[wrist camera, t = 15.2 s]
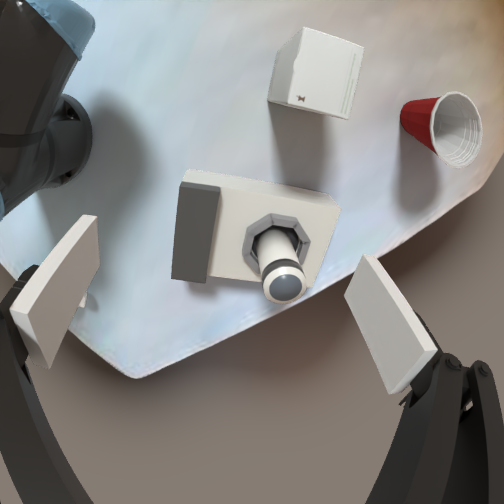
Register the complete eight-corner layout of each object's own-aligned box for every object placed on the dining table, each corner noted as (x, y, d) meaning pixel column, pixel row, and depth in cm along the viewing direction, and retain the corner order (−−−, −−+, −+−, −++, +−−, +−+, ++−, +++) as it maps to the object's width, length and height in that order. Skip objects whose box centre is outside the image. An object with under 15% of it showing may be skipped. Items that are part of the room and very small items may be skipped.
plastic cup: (444, 102, 37) (492, 115, 27) (426, 156, 43) (470, 179, 32) (397, 73, 35) (445, 76, 25) (378, 132, 40) (421, 151, 30)
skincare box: (308, 111, 38) (350, 125, 25) (263, 100, 37) (283, 107, 24) (320, 58, 34) (369, 48, 21) (275, 46, 33) (303, 25, 20)
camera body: (178, 250, 48) (171, 278, 42) (187, 168, 42) (179, 186, 35) (303, 266, 52) (314, 295, 46) (328, 193, 45) (346, 215, 39)
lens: (251, 256, 43) (259, 303, 34) (259, 225, 41) (269, 267, 32) (285, 261, 44) (300, 306, 35) (294, 230, 41) (313, 272, 33)
